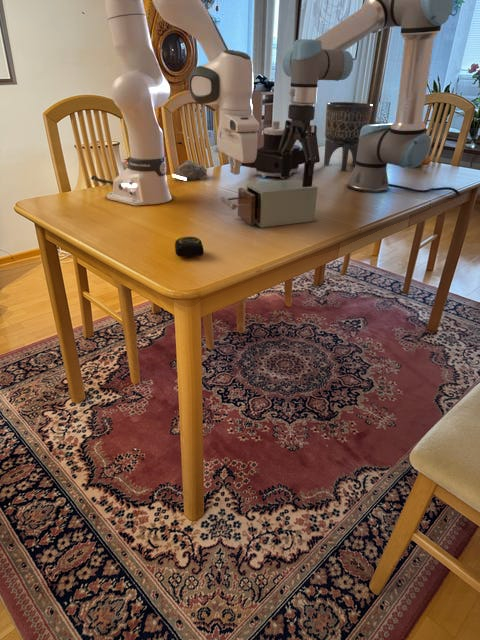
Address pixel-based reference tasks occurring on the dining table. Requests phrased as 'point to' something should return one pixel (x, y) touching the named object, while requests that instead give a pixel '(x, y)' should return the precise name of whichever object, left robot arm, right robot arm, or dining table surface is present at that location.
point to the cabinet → (285, 202)
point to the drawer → (246, 205)
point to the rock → (191, 171)
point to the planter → (345, 128)
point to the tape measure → (189, 247)
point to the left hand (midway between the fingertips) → (234, 173)
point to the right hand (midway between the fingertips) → (295, 181)
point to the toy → (425, 162)
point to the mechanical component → (275, 154)
